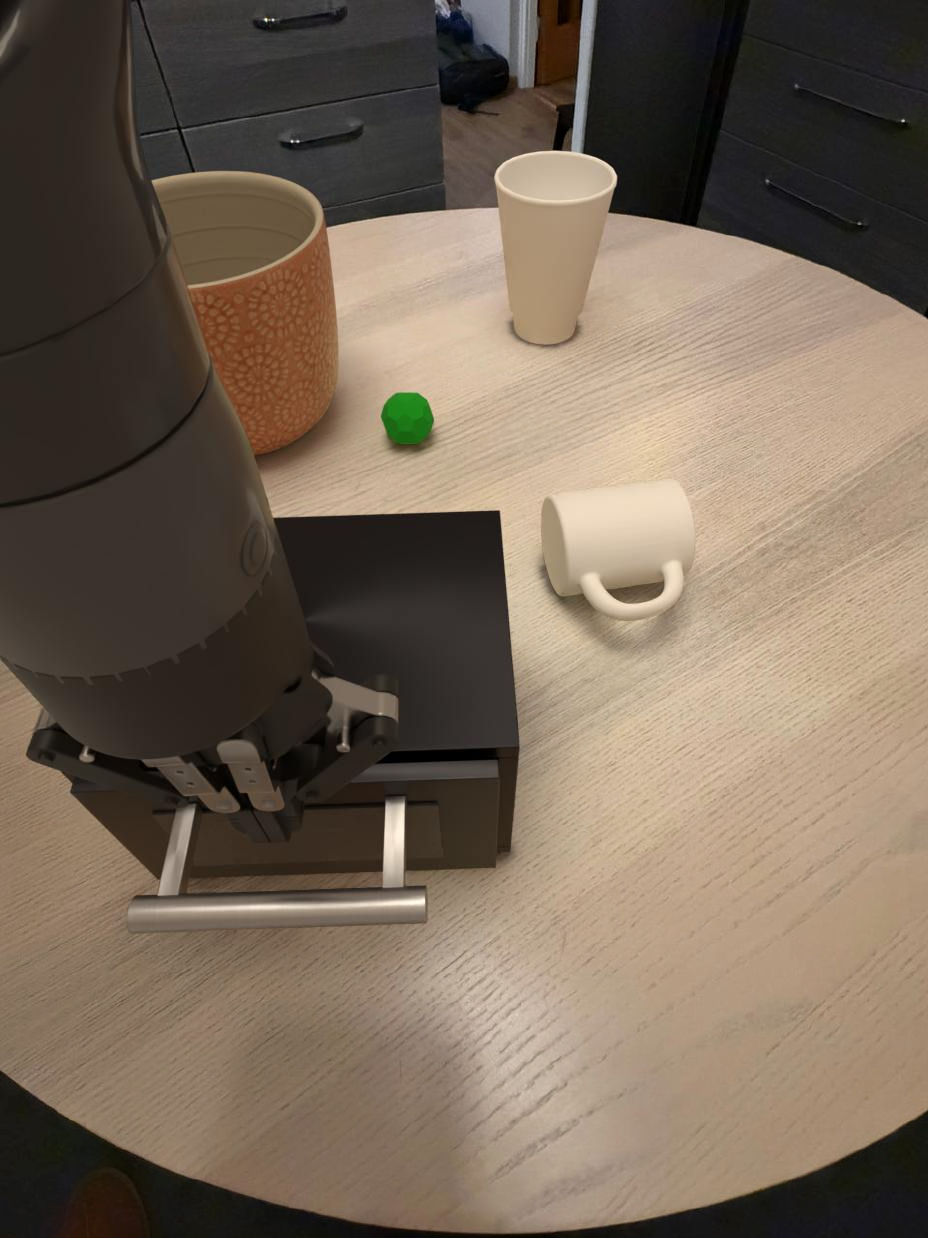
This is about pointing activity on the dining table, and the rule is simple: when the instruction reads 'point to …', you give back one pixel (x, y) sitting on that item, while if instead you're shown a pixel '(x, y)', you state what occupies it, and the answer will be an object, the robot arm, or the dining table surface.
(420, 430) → the polyhedron
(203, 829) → the oven door
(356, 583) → the oven
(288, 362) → the planter
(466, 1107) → the dining table surface
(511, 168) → the cup
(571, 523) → the mug
